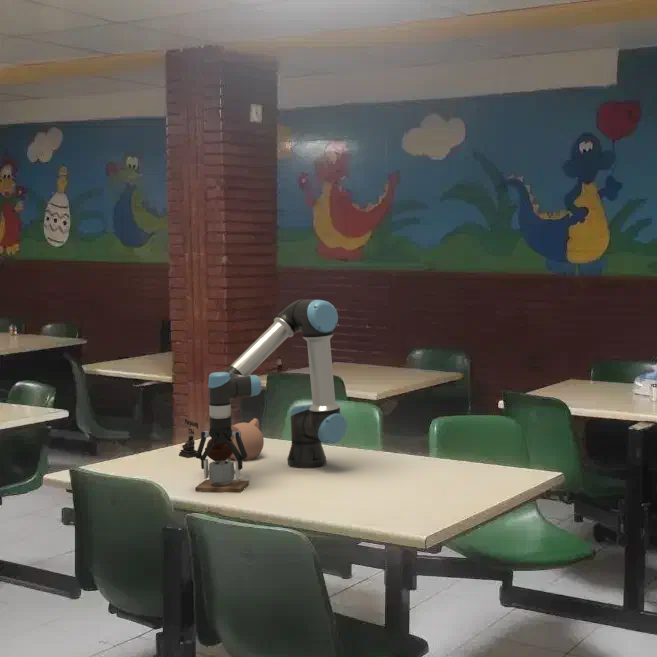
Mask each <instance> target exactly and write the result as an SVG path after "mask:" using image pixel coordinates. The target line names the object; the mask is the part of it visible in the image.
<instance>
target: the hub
mask: <svg viewBox="0 0 657 657" xmlns="http://www.w3.org/2000/svg"><path fill="white" fill-rule="evenodd" d="M220 462H224V463H225V464H222V465H220V464H219V463H220ZM234 466H235V465H234V461H231V460H225V461H214V460H213V461H211V462H210V463H208V474H209V477H208V480H209V481H212V482H217V483H224V482H230V481H232V480H235V467H234Z"/></svg>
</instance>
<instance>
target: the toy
mask: <svg viewBox="0 0 657 657" xmlns="http://www.w3.org/2000/svg"><path fill="white" fill-rule="evenodd" d="M231 429H232V431H233V432H238V431H240V432H241V440H242V442H243V445H244V448H245V450H246V453H247V458H246V459H243V460H242V462H243V461H251V460H255V459H256V458H258V457H259V456H260V454H261V452H262V451H263V449H264V444H265V442H264V435H263V433H262V431H261V430H260V421H259V419H258V418H256V417H253V419H252V420H250V421H249V422H238V423H235V424H231ZM230 438H231V440H232V441H233V444H234V445H235V447H236V448H237V450H238V451H239V453H240V450H239V447H238V445H237V442H236V438H234V436H233V435H232V436H231V437H230ZM240 454H241V453H240ZM241 456H242V455H241ZM229 458H231V459H232V460H233V461H236V460H237V458H236V457H235V455H234V454H232V455H231V456H230V457H229Z"/></svg>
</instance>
